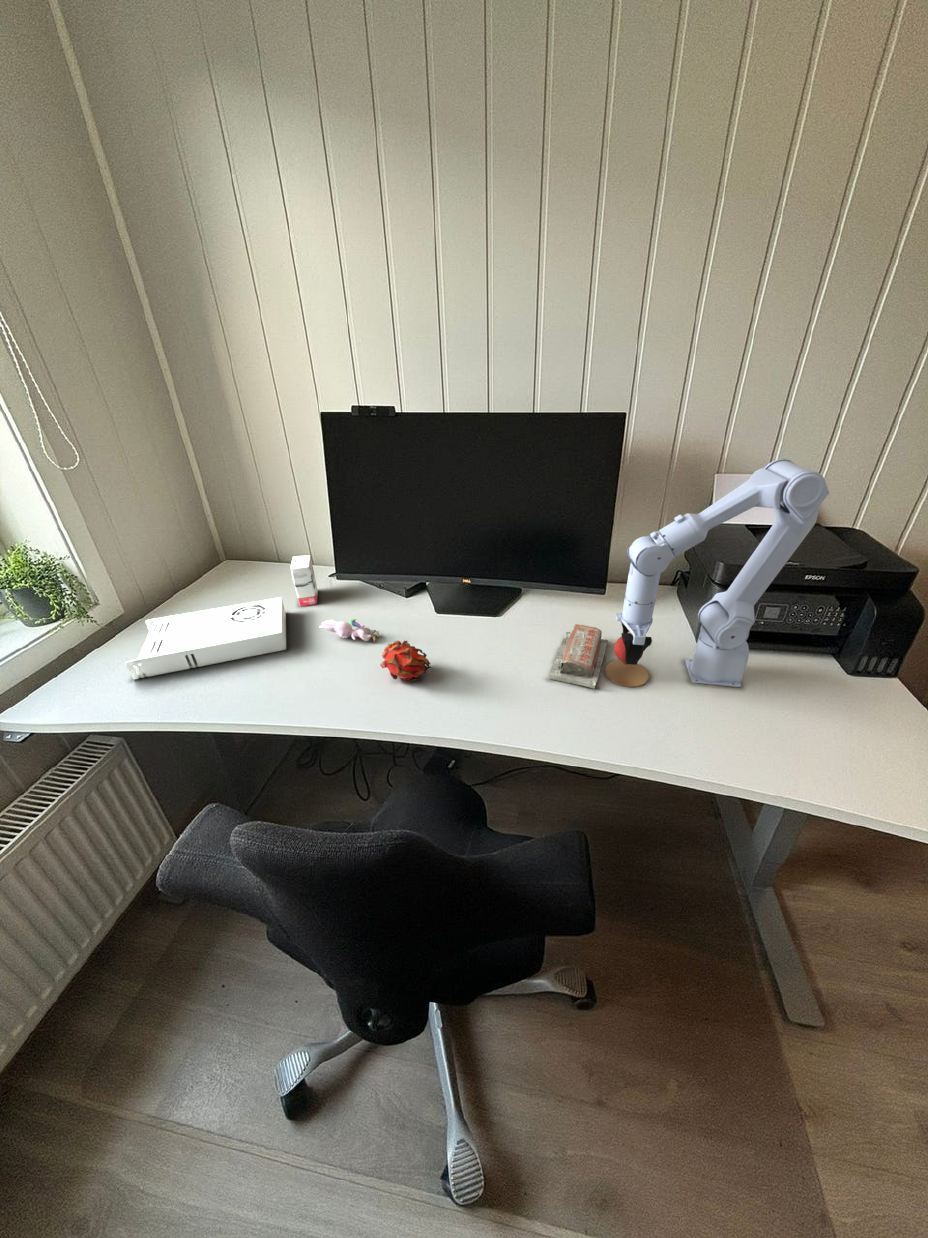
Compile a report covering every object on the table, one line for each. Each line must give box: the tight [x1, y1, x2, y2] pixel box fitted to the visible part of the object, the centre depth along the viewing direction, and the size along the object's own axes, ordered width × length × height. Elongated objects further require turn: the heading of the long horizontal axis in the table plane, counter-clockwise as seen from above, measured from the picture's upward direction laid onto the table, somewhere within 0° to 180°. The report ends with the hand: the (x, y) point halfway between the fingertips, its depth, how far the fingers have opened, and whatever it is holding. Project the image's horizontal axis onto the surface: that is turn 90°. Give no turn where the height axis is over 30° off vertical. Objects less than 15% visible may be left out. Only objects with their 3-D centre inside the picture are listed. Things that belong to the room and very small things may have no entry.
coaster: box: [604, 659, 650, 688], centre depth 104 cm, size 9×9×1 cm
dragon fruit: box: [379, 640, 432, 682], centre depth 104 cm, size 8×8×12 cm
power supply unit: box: [125, 596, 287, 680], centre depth 118 cm, size 19×33×5 cm, turn 108°
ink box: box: [290, 555, 319, 607], centre depth 135 cm, size 8×5×12 cm, turn 13°
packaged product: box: [548, 623, 609, 690], centre depth 107 cm, size 18×5×10 cm
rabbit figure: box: [318, 618, 380, 642], centre depth 118 cm, size 6×6×15 cm
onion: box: [613, 632, 644, 665], centre depth 100 cm, size 6×6×8 cm
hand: (629, 654), depth 101 cm, fingers closed on onion, 6 cm apart
